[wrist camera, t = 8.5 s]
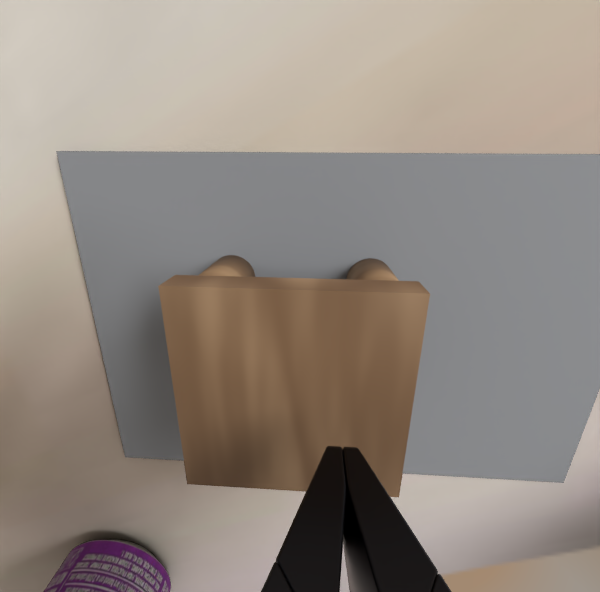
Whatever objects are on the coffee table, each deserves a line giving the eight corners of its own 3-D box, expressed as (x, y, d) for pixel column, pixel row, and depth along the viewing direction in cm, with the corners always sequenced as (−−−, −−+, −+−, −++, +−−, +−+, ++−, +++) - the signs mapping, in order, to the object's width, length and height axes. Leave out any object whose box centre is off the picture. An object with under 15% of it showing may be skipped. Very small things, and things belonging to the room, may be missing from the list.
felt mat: (680, 155, 12) (689, 155, 12) (559, 477, 18) (563, 482, 17) (61, 151, 13) (56, 151, 13) (128, 452, 19) (125, 457, 19)
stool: (430, 293, 9) (158, 285, 10) (398, 497, 12) (187, 484, 13) (395, 256, 14) (209, 252, 14) (378, 411, 16) (222, 404, 17)
